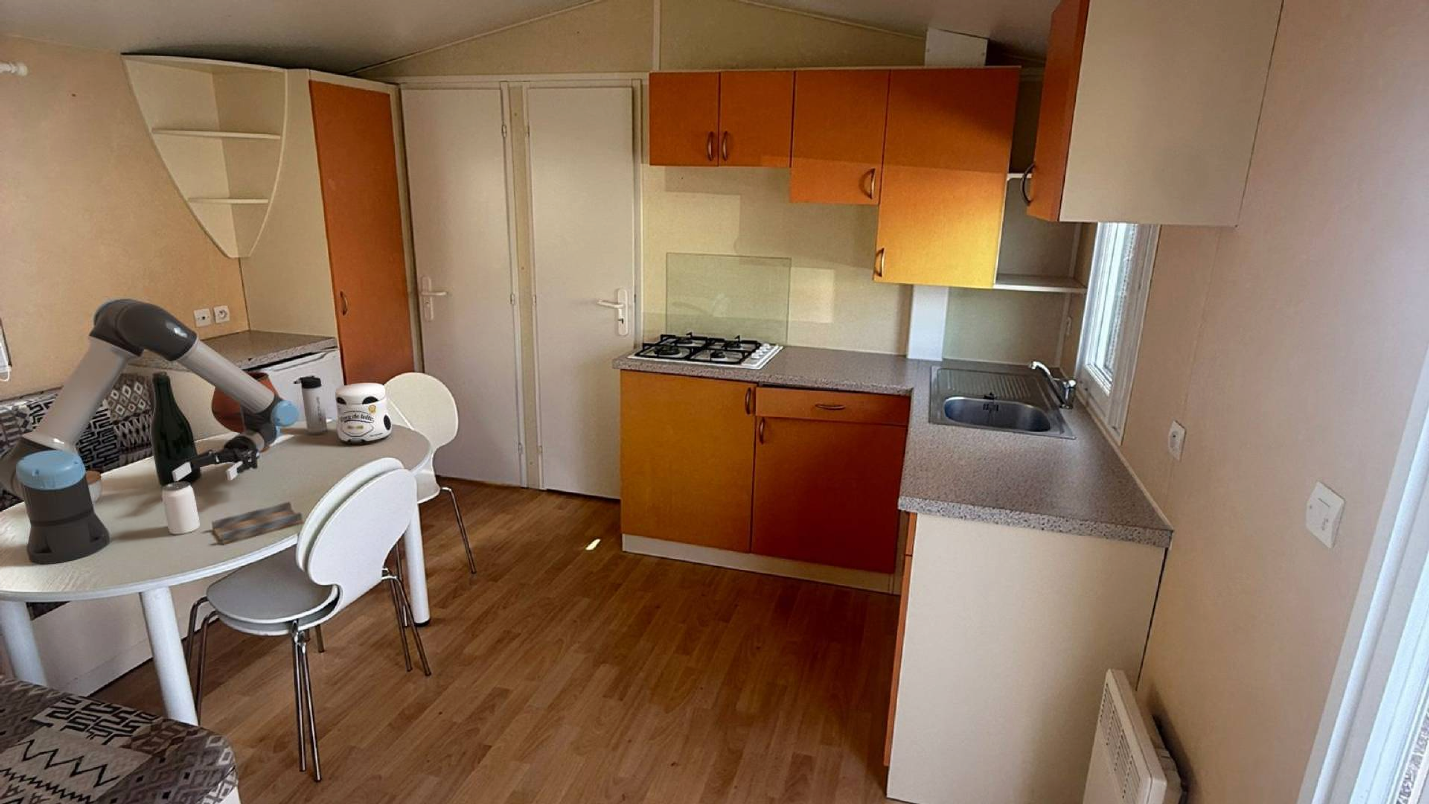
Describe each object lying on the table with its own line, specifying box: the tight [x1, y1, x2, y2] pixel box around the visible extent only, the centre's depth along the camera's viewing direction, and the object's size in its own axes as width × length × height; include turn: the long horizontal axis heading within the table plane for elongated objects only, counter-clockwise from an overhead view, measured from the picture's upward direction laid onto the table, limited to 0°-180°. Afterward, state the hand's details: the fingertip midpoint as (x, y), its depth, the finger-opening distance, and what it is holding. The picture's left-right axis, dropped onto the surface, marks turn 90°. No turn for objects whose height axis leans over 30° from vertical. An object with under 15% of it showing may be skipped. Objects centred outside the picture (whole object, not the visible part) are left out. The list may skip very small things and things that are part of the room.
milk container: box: [334, 382, 393, 444], centre depth 256 cm, size 17×17×18 cm
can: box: [161, 482, 201, 536], centre depth 190 cm, size 6×6×12 cm
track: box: [211, 501, 304, 546], centre depth 193 cm, size 18×11×3 cm, turn 135°
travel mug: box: [298, 376, 329, 436], centre depth 262 cm, size 6×7×20 cm
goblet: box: [210, 371, 280, 453], centre depth 243 cm, size 19×19×25 cm
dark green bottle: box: [149, 371, 202, 487], centre depth 216 cm, size 10×10×33 cm
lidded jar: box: [85, 470, 103, 505], centre depth 203 cm, size 11×11×9 cm
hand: (201, 475), depth 198 cm, fingers open, 13 cm apart
